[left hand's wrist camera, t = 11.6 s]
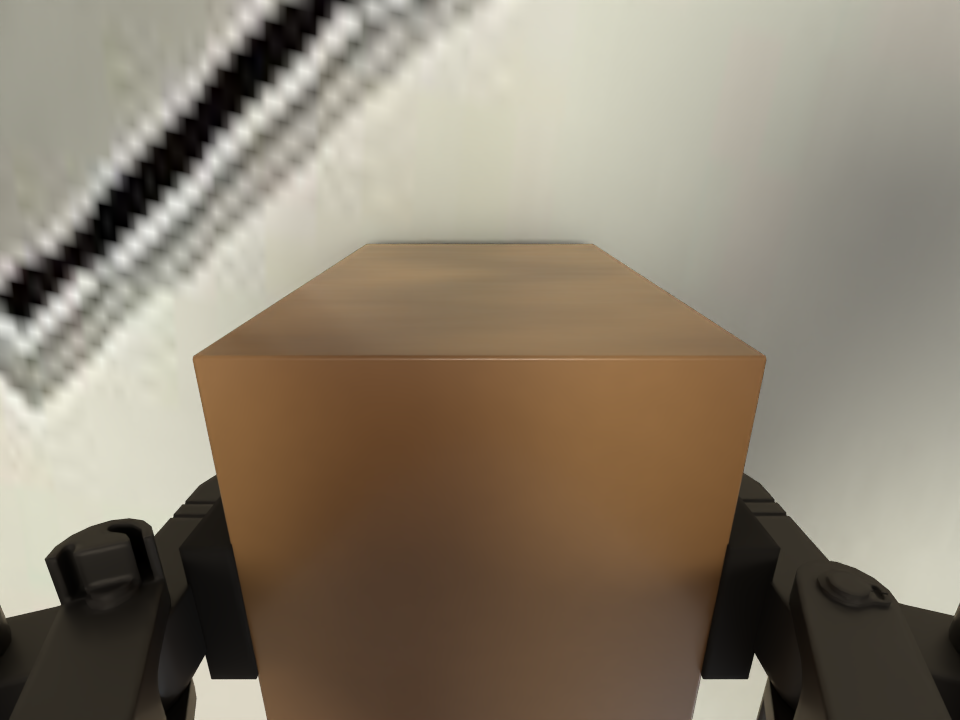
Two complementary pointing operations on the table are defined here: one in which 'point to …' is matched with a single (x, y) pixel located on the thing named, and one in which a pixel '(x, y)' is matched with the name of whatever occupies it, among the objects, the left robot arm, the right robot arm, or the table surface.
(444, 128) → the table surface
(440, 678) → the wooden block
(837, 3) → the table surface
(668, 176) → the table surface
